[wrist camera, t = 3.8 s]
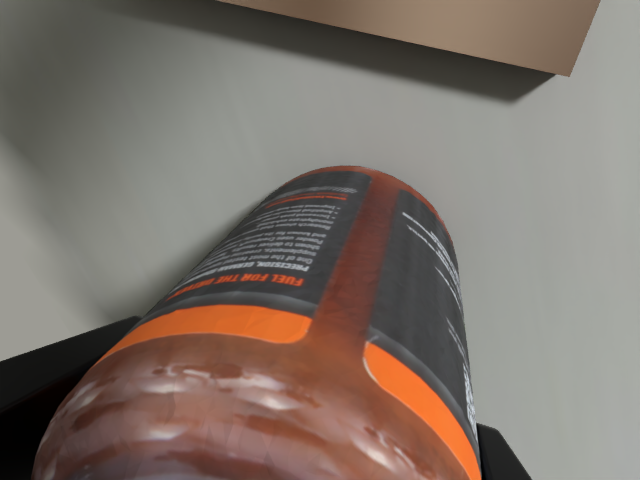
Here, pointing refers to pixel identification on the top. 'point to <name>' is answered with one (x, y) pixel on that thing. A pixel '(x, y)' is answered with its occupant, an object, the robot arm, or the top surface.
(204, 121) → the top surface
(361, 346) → the supplement bottle
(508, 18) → the wooden board with rim
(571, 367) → the top surface
